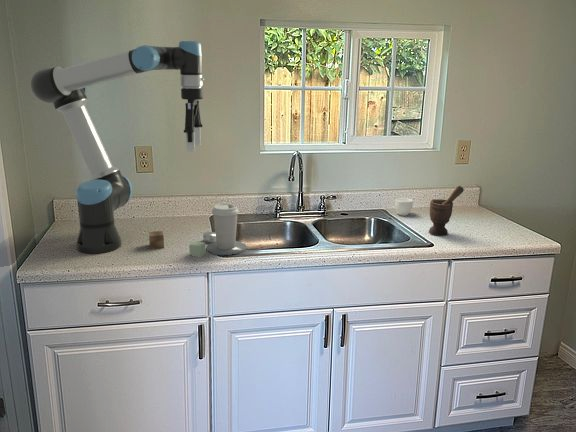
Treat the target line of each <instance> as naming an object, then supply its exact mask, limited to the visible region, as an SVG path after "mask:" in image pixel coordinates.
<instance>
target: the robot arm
mask: <svg viewBox="0 0 576 432" xmlns="http://www.w3.org/2000/svg"><path fill="white" fill-rule="evenodd" d="M157 70H158V71H159V70H160V71H162V70H168V71H169V70H171V71H172V70H177V71H178V70H179V71H180V74H179V76H180V78H179V79H180V86H181V88H180V97H181V100H187V102H185V120H184V121H185V122H184V129H183V134H184V133H185V137H186V138H185V139H186V141H185V142H186V152H191V153H192V152H193V153H194V152H196V146H202V140H201V139H202V138H201V128H203V124H202V120H201V112H200V111H201V110H200V101H199V100H203V99H204V89H203V88H202V87H203V85H204V84H203V82H204V81H205V78H204V77H203V54H202V44H201V43H200V42H199V41H197V40H196V41H195V40H193V41H192V40H181V41H179V43H178V46H175V47H174V46H172V47H171V46H153V45H152V46H151V45H146V44H144V45H140V46H137V47H136V48H134V49H130V50H127V51H123V52H119V53H115V54H112V55H108V56H105V57H104V56H103V57H100V58H97V59H93V60H90V61H89V60H88V61H86V62H83V63H82V62H81V63H77V64H74V65H69V66H67V67H62V66H54V67H51V68H50V67H47V68H42V69H40V70H39V69H38V70H37V71H35V72H34V74H33V75H32V77H31V79H30V88H31V92H32V94H33V96H35V97H36V98H37V99H38V100H40V101H42V102H45V103H48V104H52V105H53V106H54V109H55V111H56V112H59V113H61V114H62V115H63V118H64V120H65V122H66V124H67V126H68V129H69V130H70V133H71V135H72V137H73V139H74V141H75V143H76V145H77V147H78V150H79V152H80V154H81V157H82V160H83V161H84V163H85V165H86V167H87V170H88V171H89V173H90V177H89V179H88V181H83V182H81V183H80V184H78V186H77V188H76V200H77V207H78V208H77V209H78V217H79V218H78V219H79V231H78V236H77V239H76V249H77V251H79V252H81V253H84V254H104V253H108V252H111V251H115V250H117V249H119V248H120V247H121V246H122V239H121V236H120V233H119V232H118V229H117V227H116V225H115V211H116V210H118V209H119V208H121V207H124V206H125V205H126V204H127V203H128V202H129V201H131V198H132V197H133V185H132V183H131V181H130V180H129V178H127V177H126V176H124V175H122V173H121V171H120V169H119V168H118V167H115V166H114V165H113V163H112V160H111V159H110V157H109V154H108V151H107V149H106V148H105V145H104V143H103V141H102V138H101V135H99V132H98V130H97V127H96V125H95V124H94V121H93V119H92V117H91V114H90V112H89V110H88V108H87V103H88V97H87V95H86V90H87V87H92V86H95V85H99V84H103V83H106V82H107V83H108V82H111V81H115V80H118V79H123V78H125V77H130V76H133V75H137V74H142V73H146V72H149V71H157Z"/></svg>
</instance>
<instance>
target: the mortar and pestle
mask: <svg viewBox="0 0 576 432" xmlns="http://www.w3.org/2000/svg"><path fill="white" fill-rule="evenodd" d="M464 189H465V188H464V187H462V186H461V185H458V186H456V187H455V188H454V190H453V191H452V193H451V194H450V195H449V197H447V199H443V198H435V199H431V200H430V203H429V204H430V205H429V218H430V221H431V223H432V226H431V227H430V228H429V230H428V233H429V234H430V235H431V236H437V237H438V236H440V237H441V236H447V235H448V234H449V231H448V229H447V228H446V224H447V225H448V223H449V222H450V219H451V218H452V213H453V206H454V201H455V200H456V199H457V198H458V197H460V195H462V194H463V193H464Z"/></svg>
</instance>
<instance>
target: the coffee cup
mask: <svg viewBox="0 0 576 432" xmlns="http://www.w3.org/2000/svg"><path fill="white" fill-rule="evenodd" d="M239 213H240V211H239V208H238V206H237V205H236V204H233V203H218V204H215V205H213V208H212V210H211V214H213V222H214V230H215V231H214V232H215V233H216V242H217V248H219V249H225V250H226V249H232V248H234V247H235V242H236V241H237V240H236V238H237V229H238V228H237V225H238V223H237V222H238V214H239Z"/></svg>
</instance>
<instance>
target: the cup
mask: <svg viewBox="0 0 576 432" xmlns="http://www.w3.org/2000/svg"><path fill="white" fill-rule="evenodd" d="M413 203H414V200H413V199H412V198H409V197H408V198H407V197H397V198H395V199H394V208H395V211H396V212H397V214H398V215H399V216H403V217H404V216H408V215H409V214H410V213H411V211H412V209H413Z"/></svg>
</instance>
